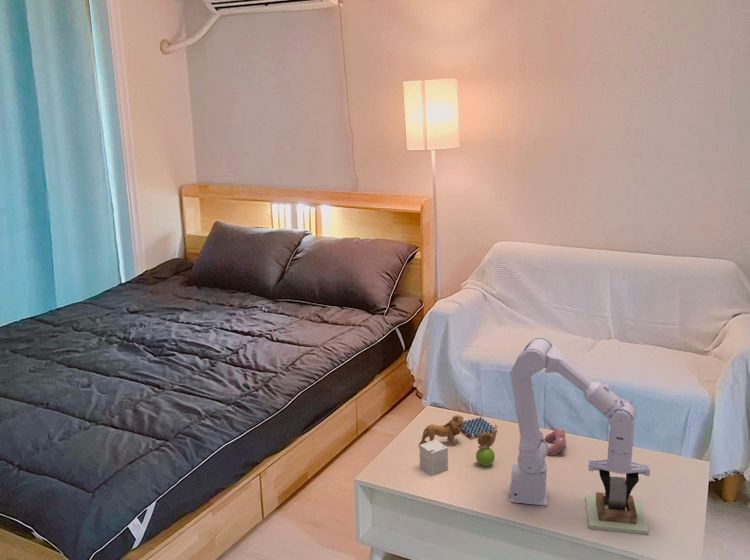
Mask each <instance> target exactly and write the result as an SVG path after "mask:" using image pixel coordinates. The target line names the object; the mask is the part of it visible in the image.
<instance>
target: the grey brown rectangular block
mask: <svg viewBox="0 0 750 560" xmlns="http://www.w3.org/2000/svg"><path fill="white" fill-rule="evenodd" d="M626 492H627V484H626V477H621V476H610V485H609V498H607V503H608V509H613V510H624V511H625V505H626Z"/></svg>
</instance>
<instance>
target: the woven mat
mask: <svg viewBox="0 0 750 560" xmlns="http://www.w3.org/2000/svg"><path fill="white" fill-rule="evenodd" d="M463 421H464V425H463V428H462V430H461V432H460V433H461V434H463V435H464V437H466V438H467V439H468V440H470V441H472V439H473V440H474V439H478V437H479V435H480V434H482V433H484V432H487V433H490V434H491V436H492V434H493V432H492V430H493V429H495V426H494V425H492V424H491V423H490V422H488V421H487V420H485V419H484V418H483V417H482V416H481V417H476V418H471V419H468V420H463Z"/></svg>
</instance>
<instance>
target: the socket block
mask: <svg viewBox="0 0 750 560" xmlns="http://www.w3.org/2000/svg"><path fill="white" fill-rule="evenodd" d="M584 499H585V509H586V516H587V524H588V526H587V527H588V529H589V530H599V531H607V532H608V531H609V532H616V533H625V534H626V533H627V534H637V535H645V536H649V527H648V524H647V520H646V515H645V512H644V509H643V504H642V501H641V499H637V498H634V497H633V494H632V495H631V494H630V495H629V499H628V500H626V505H625V511H624V510H613V509H608V503H607V498H606V495H605V492H601V491H600V492H598V491H596V492H595V495H594V494H586V493H585V496H584Z"/></svg>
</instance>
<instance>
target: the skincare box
mask: <svg viewBox="0 0 750 560" xmlns="http://www.w3.org/2000/svg"><path fill="white" fill-rule="evenodd" d="M429 441H430V440H429ZM429 441H427V443H422V444H421V445H419V468H421V469H422V470H423V471H425V472H426V473H428V474H429V475H430V476H434V475H437V474H440V473H441V472H445V471H447V470H449V466H448V465H449V464H448V463H449V461H448V460H449V459H448V458H449V454H448V453H449V451H448V450H449V449H448V446H447V445H445V444H443V443H441V442H440V441H439V440H437V439H433V441H430V442H429Z"/></svg>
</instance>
